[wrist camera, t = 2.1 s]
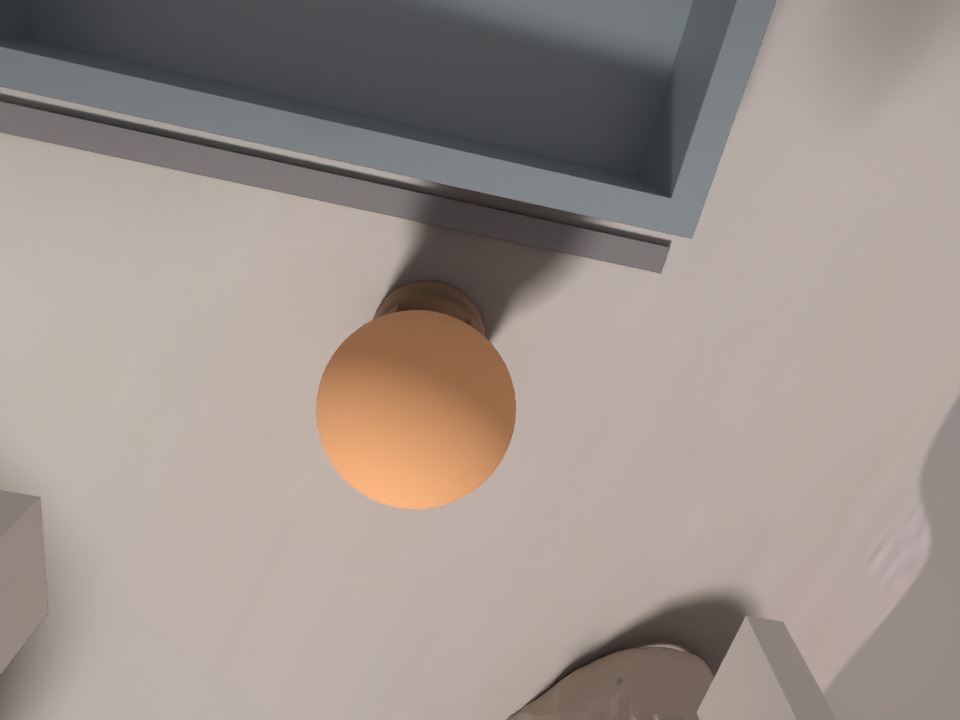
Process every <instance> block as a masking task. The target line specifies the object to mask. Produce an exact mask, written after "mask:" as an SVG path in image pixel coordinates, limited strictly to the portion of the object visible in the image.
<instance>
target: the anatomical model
mask: <svg viewBox="0 0 960 720" xmlns="http://www.w3.org/2000/svg"><path fill="white" fill-rule="evenodd" d="M713 679H714V676H713V674H712V673H711V671H710V669H709V668H708V666H707V665H706V663H705V662H704V661H703V660H702V659H701V658H699V657H698V656H697V655H694V654H690V653H687V652H683V651H680V650H676V649H672V648H665V647H647V648H631V649H626V650H622V651H618V652H615V653H613V654H610V655H607V656H605V657H602V658H600V659H598V660H596V661H594V662H592V663H590V664H588V665H586V666H584V667H581V668H578V669H577V670H575V671H574V672H572V673H571V674H569V675H568V676H566V677H565V678H563V679H562V680H561V681H559V682H558V683H557V684H555V685H554V686H553V687H552V688H551V689H549V690H548V691H547V692H546V693H544V694H543V695H542V696H540V697H539V698H538V699H536V700H534V701H532V702H531V703H529V704H527V705H526V706H524V707H523V708H522V709H521V710H520V711H519V712H517V713H516V714H514V715H512V716H510V717H509V718H508V719H507V720H699V718H698V715H697V711H698V709H699V707H700V705H701V703H702V701H703V699H704V697H705V695H706V693H707V691H708V689H709V687H710V685H711V683H712V681H713Z"/></svg>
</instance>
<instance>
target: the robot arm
mask: <svg viewBox="0 0 960 720" xmlns="http://www.w3.org/2000/svg"><path fill="white" fill-rule="evenodd" d="M47 614H48V603H47V588H46V572H45V557H44V542H43V526H42V511H41V497H37V496H31V495H25V494H19V493H13V492H7V491H1V490H0V675H1V673H2V672H3V671H4V669H5V668H6V667H7V666H8V664H9V663H10V662H11V660H12V659H13V658H14V657H15V655H16V654H17V653H18V651H19V650H20V649H21V648H22V646H23V645H24V644H25V642H26V641H27V640H28V639H29V637H30V636H31V635H32V633H33V632H34V631H35V630H36V628H37V627H38V626H39V625H40V623H41V622H42V621H43V619H44V618H45V617H46V616H47ZM697 715H698V718H699V720H837V719H836V717H835V716H834V714H833V712H832V711H831V708H830V707H829V705H828V703H827V701H826V699H825V697H824V696H823V694H822V692H821V690H820V688H819V686H818V685H817V683H816V681H815V679H814V677H813V676H812V674H811V672H810V670H809V668H808V666H807V665H806V663H805V661H804V659H803V657H802V655H801V654H800V652H799V650H798V648H797V646H796V645H795V643H794V641H793V639H792V637H791V635H790V634H789V632H788V630H787V628H786V626H785V625H784V623H783V622H781V621H775V620H769V619H763V618H757V617H751V616H746V617H745V619H744V620H743V622H742V624H741V626H740V628H739V630H738V632H737V634H736V636H735V638H734V640H733V642H732V644H731V646H730V648H729V650H728V652H727V654H726V656H725V658H724V660H723V662H722V664H721V666H720V667H719V669H718V671H717V673H716V675H715V677H714V679H713V681H712V683H711V685H710V687H709V689H708V691H707V693H706V695H705V697H704V699H703V701H702V703H701V705H700V707H699V709H698V711H697Z"/></svg>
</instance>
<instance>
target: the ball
mask: <svg viewBox="0 0 960 720" xmlns="http://www.w3.org/2000/svg"><path fill="white" fill-rule="evenodd" d="M515 415H516V401H515V392H514V388H513V384H512V380H511V377H510V374H509V372H508V369H507V367H506V365H505V363H504V361H503V359H502V358H501V356H500V354H499V353H498V352H497V350H496V349H495V348H494V346H493V345H492V344H491V343H490V341H488V340H487V339H486V338H485V337H484V336H483V335H482V334H481V333H480V332H479V331H477V330H476V329H474V328H473V327H472V326H470V325H468V324H466V323H465V322H463V321H461V320H459V319H457V318H454V317H452V316H449V315H446V314H443V313H439V312H434V311H426V310H409V311H400V312H395V313H391V314H387V315H384V316H381V317H379V318H376V319H374V320H372V321H370V322H368V323H367V324H365V325H363V326H362V327H360V328H359V329H358V330H356V331H355V332H354V333H352V334H351V335H350V336H349V337H348V338H347V339H346V340H345V341H344V342H343V343H342V344H341V345H340V346H339V348H338V349H337V350H336V352H335V353H334V354H333V356H332V357H331V359H330V361H329V363H328V364H327V366H326V368H325V371H324V373H323V376H322V379H321V382H320V385H319V390H318V395H317V407H316V416H317V426H318V430H319V434H320V438H321V442H322V445H323V447H324V450H325V452H326V454H327V456H328V458H329V459H330V461H331V463H332V464H333V466H334V467H335V469H336V470H337V471H338V473H339V474H340V475H341V476H342V477H343V478H344V479H345V480H346V481H347V482H348V483H349V484H350V485H351V486H352V487H354V488H355V489H356V490H357V491H359V492H361V493H362V494H364V495H365V496H367V497H369V498H371V499H373V500H375V501H377V502H379V503H382V504H385V505H388V506H393V507H397V508H404V509H426V508H433V507H438V506H442V505H445V504H448V503H451V502H454V501H456V500H458V499H460V498H462V497H464V496H466V495H467V494H469V493H471V492H472V491H474V490H475V489H476V488H477V487H479V486H480V485H481V484H482V483H483V482H484V481H486V480H487V478H488V477H489V476H490V475H491V474H492V473H493V472H494V471H495V469H496V468H497V466H498V465H499V463H500V462H501V460H502V459H503V457H504V455H505V453H506V451H507V449H508V446H509V443H510V441H511V438H512V434H513V430H514V425H515Z"/></svg>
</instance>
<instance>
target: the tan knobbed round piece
mask: <svg viewBox="0 0 960 720" xmlns="http://www.w3.org/2000/svg"><path fill="white" fill-rule="evenodd" d="M409 310H426V311H434V312H439V313H443V314H446V315H449V316H452V317H454V318H457V319H459V320H461V321H463V322H465V323H466V324H468V325H470V326H472V327H473V328H474V329H476V330H477V331H479V332H480V333H481V334H482V335H483V336H484V337H485V327H484V322H483V318H482V316H481V313H480V311H479V310H478V308H477V306H476V305H475V303H474V302H473V301H472V300H471V299H470V298H469V297H468V296H467V295H466V294H465V293H463V292H462V291H461V290H459V289H457V288H456V287H454V286H451V285H449V284H447V283H443V282H439V281H432V280H423V281H415V282H411V283H408V284H405V285H403V286H401V287H399V288H397V289H395V290H394V291H393V292H391V293H390V294H389V295H388V296H387V297H386V298H385V299H384V300H383V301H382V303H381V304H380V306H379V307H378V309H377V311H376V313H375V316H374V319H376V318H379V317H381V316H384V315H387V314H391V313H395V312H400V311H409ZM374 319H373V320H374Z"/></svg>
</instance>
